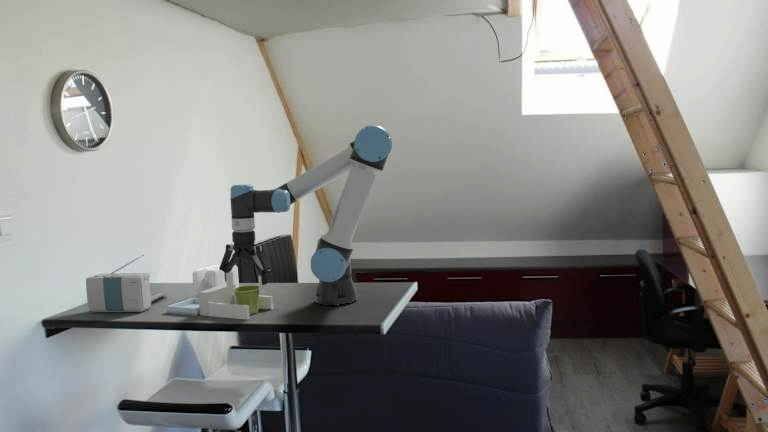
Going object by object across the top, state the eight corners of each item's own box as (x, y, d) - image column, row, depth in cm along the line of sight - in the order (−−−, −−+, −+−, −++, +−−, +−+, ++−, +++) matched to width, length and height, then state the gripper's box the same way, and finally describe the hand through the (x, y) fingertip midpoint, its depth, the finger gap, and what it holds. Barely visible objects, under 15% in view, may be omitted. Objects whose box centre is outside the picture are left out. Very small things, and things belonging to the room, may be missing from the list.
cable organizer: (215, 302, 219) (213, 271, 218) (192, 300, 223) (190, 270, 222) (239, 293, 233) (238, 264, 232) (218, 291, 237) (216, 263, 236)
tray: (223, 306, 211) (222, 299, 211) (196, 315, 199) (196, 308, 199) (194, 304, 217) (194, 297, 217) (167, 313, 205) (166, 306, 205)
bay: (273, 308, 204) (272, 286, 204) (247, 319, 191) (245, 295, 191) (227, 305, 213) (226, 283, 212) (200, 315, 200) (198, 292, 199)
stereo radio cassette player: (87, 314, 209) (82, 258, 207) (101, 308, 217) (96, 254, 215) (142, 313, 206) (137, 257, 204) (154, 307, 214) (150, 253, 212)
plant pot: (259, 316, 195) (258, 290, 195) (231, 317, 195) (229, 291, 194) (265, 309, 205) (263, 284, 204) (238, 310, 205) (236, 285, 204)
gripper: (206, 230, 199) (209, 292, 201) (267, 233, 189) (269, 297, 191) (221, 228, 206) (224, 287, 208) (280, 230, 195) (283, 292, 197)
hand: (246, 292), depth 199 cm, fingers open, 13 cm apart
